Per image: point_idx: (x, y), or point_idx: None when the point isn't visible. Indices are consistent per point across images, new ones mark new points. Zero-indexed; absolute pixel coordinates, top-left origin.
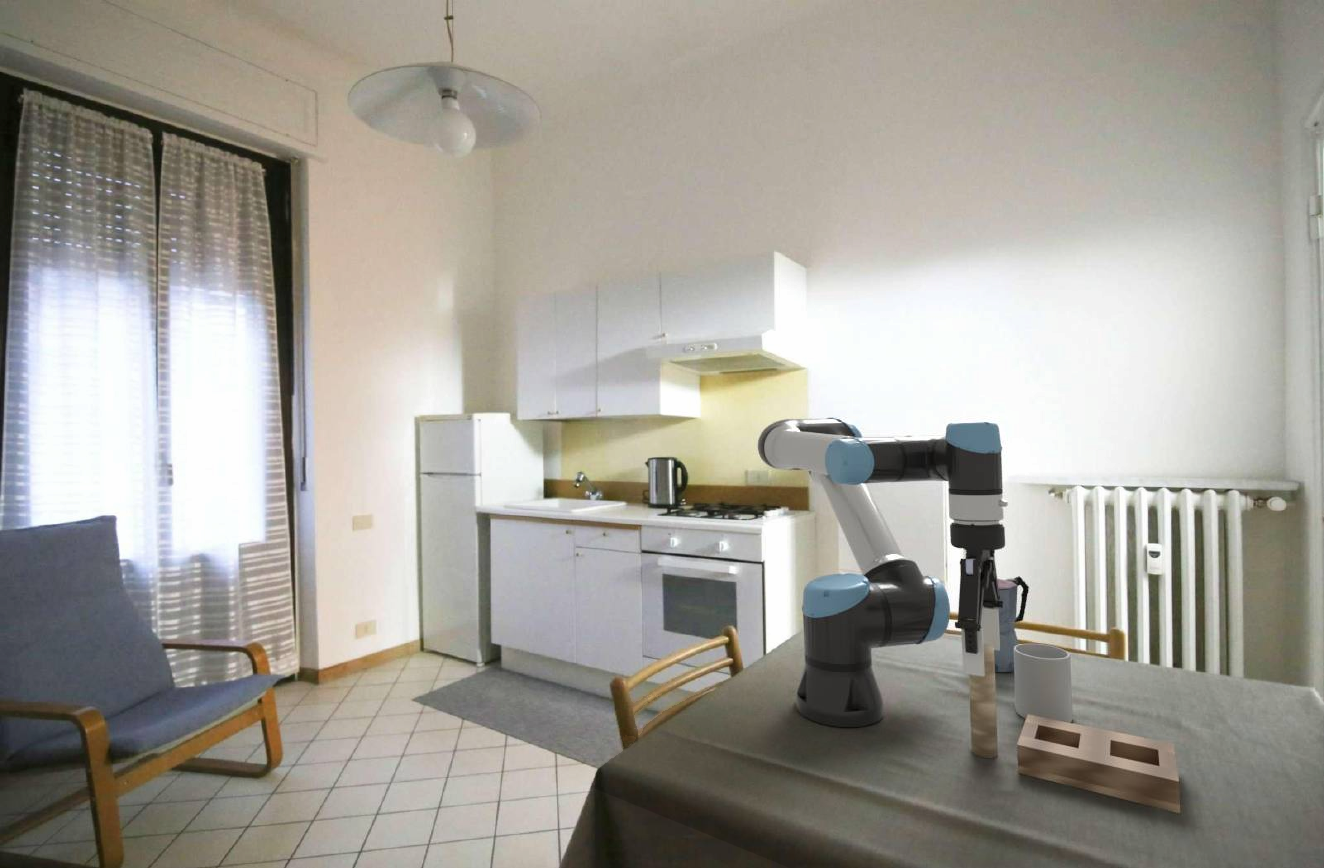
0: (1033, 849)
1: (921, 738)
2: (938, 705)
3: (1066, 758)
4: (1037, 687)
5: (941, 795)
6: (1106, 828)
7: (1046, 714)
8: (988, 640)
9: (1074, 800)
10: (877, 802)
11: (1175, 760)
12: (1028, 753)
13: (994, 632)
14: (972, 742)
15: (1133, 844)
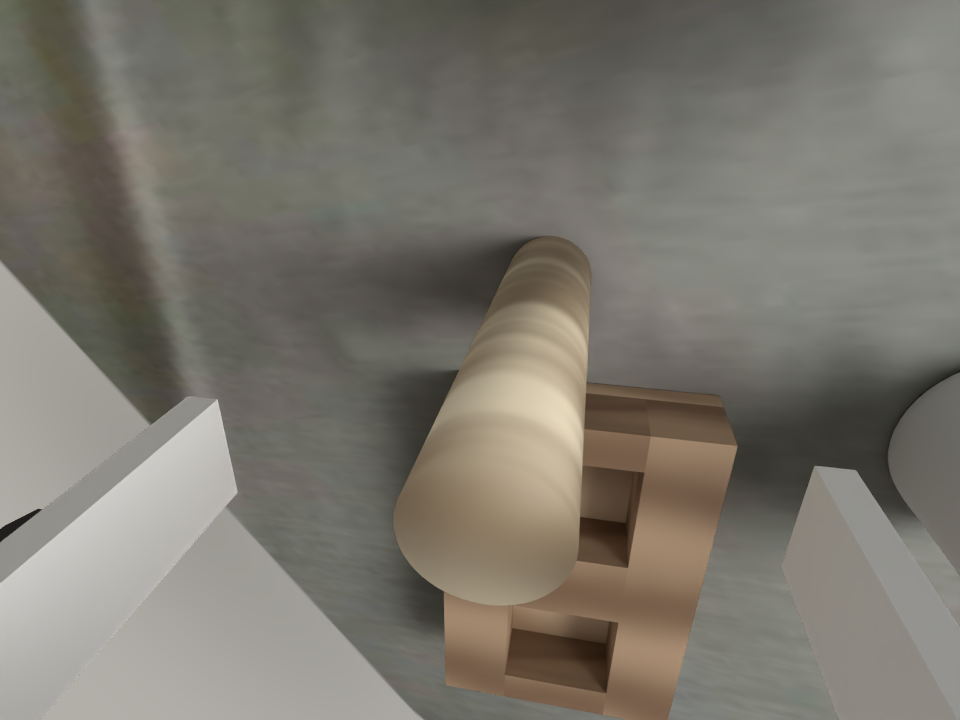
0: (149, 398)
1: (552, 38)
2: None
3: None
4: None
5: (205, 197)
6: (318, 513)
7: (904, 472)
8: (819, 563)
9: (394, 475)
10: (39, 33)
11: (557, 705)
12: None
13: (833, 666)
14: (521, 253)
15: (293, 542)
